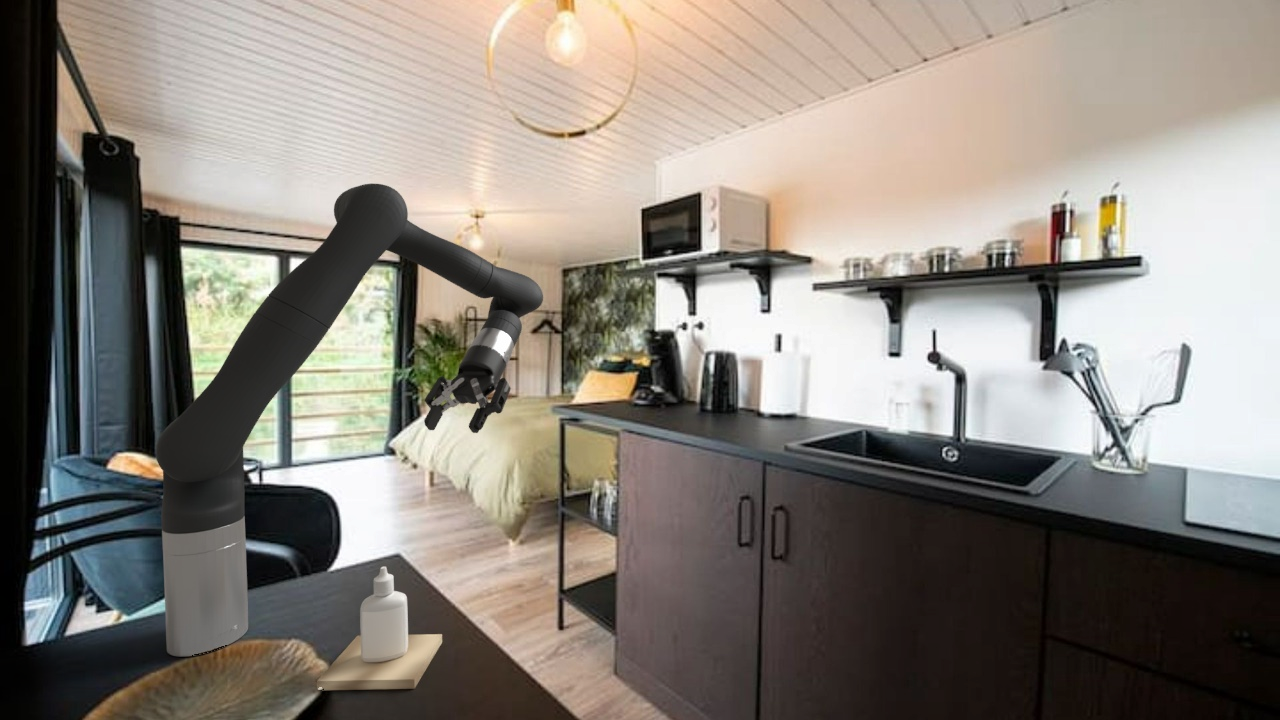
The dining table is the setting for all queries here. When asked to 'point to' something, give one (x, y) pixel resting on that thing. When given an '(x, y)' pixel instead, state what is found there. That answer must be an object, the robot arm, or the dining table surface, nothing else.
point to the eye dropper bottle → (384, 621)
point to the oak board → (381, 667)
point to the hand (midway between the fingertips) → (450, 428)
